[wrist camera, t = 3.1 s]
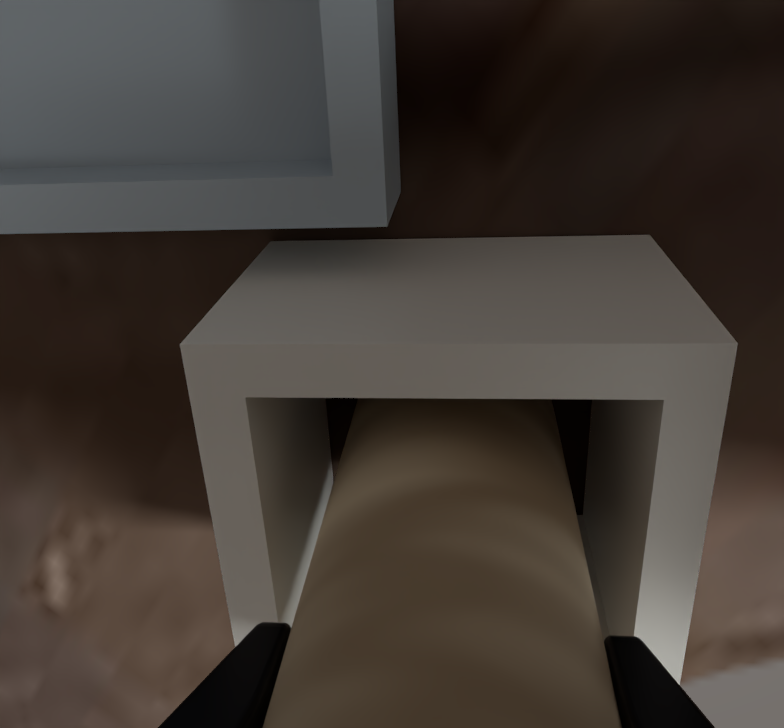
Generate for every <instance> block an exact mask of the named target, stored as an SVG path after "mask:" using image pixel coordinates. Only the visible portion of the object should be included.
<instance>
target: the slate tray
mask: <svg viewBox="0 0 784 728" xmlns="http://www.w3.org/2000/svg"><path fill="white" fill-rule="evenodd" d="M400 193H401V180H400V155H399V130H398V104H397V79H396V53H395V28H394V2H393V0H0V234H32V233H85V232H138V231H191V230H243V229H296V228H349V227H387V226H388V224H389V221H390V219H391V216H392V213H393V211H394V208H395V206H396V203H397V201H398V198H399V196H400Z"/></svg>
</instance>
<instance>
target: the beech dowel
mask: <svg viewBox="0 0 784 728" xmlns="http://www.w3.org/2000/svg"><path fill="white" fill-rule="evenodd" d="M263 728H622V725H621V720H620V715H619V711H618V706H617V701H616V697H615V692H614V687H613V683H612V678H611V673H610V669H609V664H608V659H607V655H606V650H605V645H604V641H603V636H602V631H601V627H600V622H599V617H598V613H597V608H596V603H595V598H594V594H593V589H592V584H591V580H590V575H589V570H588V566H587V561H586V556H585V552H584V547H583V542H582V538H581V533H580V528H579V524H578V519H577V514H576V510H575V505H574V500H573V496H572V491H571V486H570V482H569V477H568V472H567V468H566V463H565V458H564V454H563V449H562V444H561V440H560V435H559V430H558V426H557V421H556V416H555V412H554V407H553V402H552V399H442V398H358V400H357V403H356V407H355V410H354V414H353V417H352V421H351V424H350V427H349V431H348V434H347V438H346V441H345V445H344V448H343V452H342V455H341V459H340V462H339V465H338V469H337V472H336V476H335V479H334V483H333V486H332V490H331V493H330V496H329V500H328V503H327V507H326V510H325V514H324V517H323V521H322V524H321V528H320V531H319V534H318V538H317V541H316V545H315V548H314V552H313V555H312V559H311V562H310V565H309V569H308V572H307V576H306V579H305V583H304V586H303V590H302V593H301V597H300V600H299V603H298V607H297V610H296V614H295V617H294V621H293V624H292V628H291V631H290V634H289V638H288V641H287V645H286V648H285V652H284V655H283V659H282V662H281V666H280V669H279V672H278V676H277V679H276V683H275V686H274V690H273V693H272V697H271V700H270V703H269V707H268V710H267V714H266V717H265V721H264V724H263Z"/></svg>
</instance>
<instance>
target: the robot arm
mask: <svg viewBox="0 0 784 728" xmlns="http://www.w3.org/2000/svg"><path fill="white" fill-rule="evenodd" d="M290 631H291V627H290V625H289V624H287V623H278V622H261V623H259V624H257V625H256V626H255V627H254V628H253V629H252V630H251V631H250V632H249V633H248V634H247V635H246V636H245V637H244V639H243V640H242V641H241V642H240V643H239V644H238V645H237V646H236V647H235V648H234V649H233V650H232V651H231V652H230V653H229V654H228V655H227V656H226V657H225V658H224V659H223V660H222V661H221V662H220V664H219V665H218V666H217V667H216V668H215V669H214V670H213V671H212V672H211V673H210V674H209V675H208V676H207V677H206V678H205V679H204V680H203V681H202V682H201V683H200V684H199V685H198V686H197V688H196V689H195V690H194V691H193V692H192V693H191V694H190V695H189V696H188V697H187V698H186V699H185V700H184V701H183V702H182V703H181V704H180V705H179V706H178V707H177V708H176V709H175V710H174V711H173V713H172V714H171V715H170V716H169V717H168V718H167V719H166V720H165V721H164V722H163V723H162V724H161V725H160V726H159V727H158V728H263V724H264V721H265V717H266V714H267V710H268V707H269V703H270V700H271V697H272V693H273V690H274V686H275V683H276V679H277V676H278V672H279V669H280V666H281V662H282V659H283V655H284V652H285V648H286V645H287V641H288V638H289V634H290ZM604 645H605V650H606V655H607V659H608V664H609V669H610V673H611V678H612V683H613V687H614V692H615V697H616V701H617V706H618V711H619V715H620V720H621V725H622V728H714V726H713V725H712V724H711V722H710V721H709V720H708V719H707V718H706V716H705V715H704V714H703V713H702V712H701V710H700V709H699V708H698V707H697V706H696V704H695V703H694V702H693V701H692V700H691V698H690V697H689V696H688V695H687V694H686V692H685V691H684V690H683V689H682V688H681V686H680V685H679V684H678V683H677V682H676V680H675V679H674V678H673V677H672V676H671V674H670V673H669V672H668V671H667V670H666V668H665V667H664V666H663V665H662V664H661V662H660V661H659V660H658V659H657V658H656V656H655V655H654V654H653V653H652V652H651V650H650V649H649V648H648V647H647V646H646V644H645V643H644V642H643V641H642V640H641V639H640V638H638V637H636V636H617V635H610V636H608V637H606V638H605V640H604Z"/></svg>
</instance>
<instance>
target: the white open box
mask: <svg viewBox="0 0 784 728" xmlns="http://www.w3.org/2000/svg"><path fill="white" fill-rule="evenodd" d="M737 346H738V343H737V342H736V340H735V339H734V338H733V337H732V335H731V334H730V333H729V332H728V331H727V329H726V328H725V327H724V326H723V324H722V323H721V322H720V321H719V319H718V318H717V317H716V316H715V314H714V313H713V312H712V311H711V310H710V308H709V307H708V306H707V305H706V303H705V302H704V301H703V300H702V298H701V297H700V296H699V295H698V294H697V292H696V291H695V290H694V289H693V287H692V286H691V285H690V284H689V282H688V281H687V280H686V279H685V278H684V276H683V275H682V274H681V273H680V271H679V270H678V269H677V268H676V266H675V265H674V264H673V263H672V262H671V260H670V259H669V258H668V257H667V255H666V254H665V253H664V252H663V250H662V249H661V248H660V247H659V246H658V244H657V243H656V242H655V241H654V239H653V238H652V237H651V236H650V235H604V236H546V237H487V238H429V239H370V240H312V241H270V243H269V244H268V245H267V246H266V247H265V248H264V249H263V250H262V252H261V253H260V254H259V255H258V256H257V257H256V258H255V260H254V261H253V262H252V263H251V264H250V265H249V266H248V267H247V269H246V270H245V271H244V272H243V273H242V274H241V275H240V277H239V278H238V279H237V280H236V281H235V282H234V283H233V284H232V286H231V287H230V288H229V289H228V290H227V291H226V292H225V294H224V295H223V296H222V297H221V298H220V299H219V300H218V302H217V303H216V304H215V305H214V306H213V307H212V308H211V309H210V311H209V312H208V313H207V314H206V315H205V316H204V317H203V319H202V320H201V321H200V322H199V323H198V324H197V325H196V326H195V328H194V329H193V330H192V331H191V332H190V333H189V334H188V336H187V337H186V338H185V339H184V340H183V341H182V342H181V343H180V349H181V354H182V360H183V365H184V371H185V376H186V382H187V387H188V393H189V398H190V403H191V409H192V414H193V420H194V425H195V431H196V436H197V442H198V447H199V452H200V458H201V463H202V469H203V474H204V480H205V485H206V491H207V496H208V501H209V507H210V512H211V518H212V523H213V529H214V534H215V540H216V545H217V550H218V556H219V561H220V567H221V572H222V578H223V583H224V589H225V594H226V599H227V605H228V610H229V616H230V621H231V627H232V632H233V638H234V643H235V647H236V646H237V645H238V644H239V643H240V642H241V641H242V640H243V639H244V637H245V636H246V635H247V634H248V633H249V632H250V631H251V630H252V629H253V628H254V627H255V626H256V625H257V624H259V623H261V622H278V623H287V624H289V625H290V627H291V628H292V624H293V621H294V617H295V614H296V610H297V607H298V603H299V600H300V597H301V593H302V590H303V586H304V583H305V579H306V576H307V572H308V569H309V565H310V562H311V559H312V555H313V552H314V548H315V545H316V541H317V538H318V534H319V531H320V528H321V524H322V521H323V517H324V514H325V510H326V507H327V503H328V500H329V496H330V493H331V490H332V486H333V483H334V482H333V471H332V461H331V450H330V439H329V429H328V418H327V408H326V398H442V399H592V408H591V420H590V432H589V445H588V457H587V469H586V481H585V494H584V506H583V515H577V519H578V524H579V528H580V533H581V538H582V542H583V547H584V552H585V556H586V561H587V566H588V570H589V575H590V580H591V584H592V589H593V594H594V598H595V603H596V608H597V613H598V617H599V622H600V627H601V631H602V636H603V641H604V640H605V638H606V637H608V636H610V635H617V636H636V637H638V638H640V639H641V640H642V641H643V642H644V643H645V644H646V646H647V647H648V648H649V649H650V650H651V652H652V653H653V654H654V655H655V656H656V658H657V659H658V660H659V661H660V662H661V664H662V665H663V666H664V667H665V668H666V670H667V671H668V672H669V673H670V674H671V676H672V677H673V678H674V679H675V680H676V682H677V683H678V684H679V685H680V679H681V674H682V668H683V662H684V656H685V650H686V644H687V639H688V633H689V627H690V621H691V615H692V609H693V603H694V598H695V592H696V586H697V580H698V574H699V568H700V563H701V557H702V551H703V545H704V539H705V533H706V527H707V522H708V516H709V510H710V504H711V498H712V492H713V487H714V481H715V475H716V469H717V463H718V457H719V451H720V446H721V440H722V434H723V428H724V422H725V416H726V411H727V405H728V399H729V393H730V387H731V381H732V375H733V370H734V364H735V358H736V352H737Z"/></svg>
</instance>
